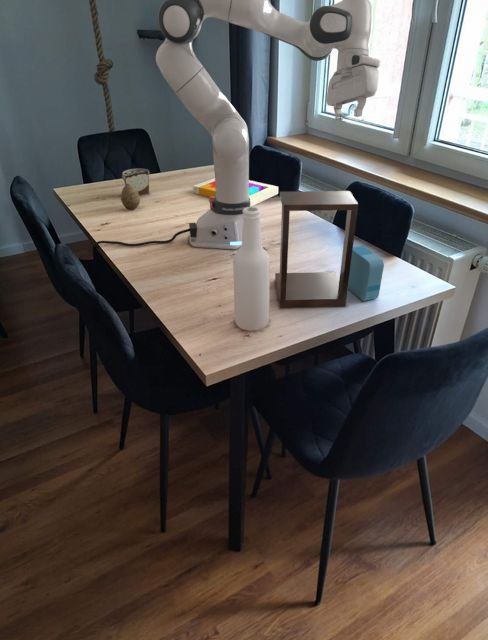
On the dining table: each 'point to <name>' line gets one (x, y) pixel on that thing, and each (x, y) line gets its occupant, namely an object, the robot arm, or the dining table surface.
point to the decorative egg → (130, 197)
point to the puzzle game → (256, 190)
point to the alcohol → (251, 275)
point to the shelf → (316, 285)
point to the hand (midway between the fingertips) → (348, 118)
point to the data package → (365, 273)
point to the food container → (137, 180)
